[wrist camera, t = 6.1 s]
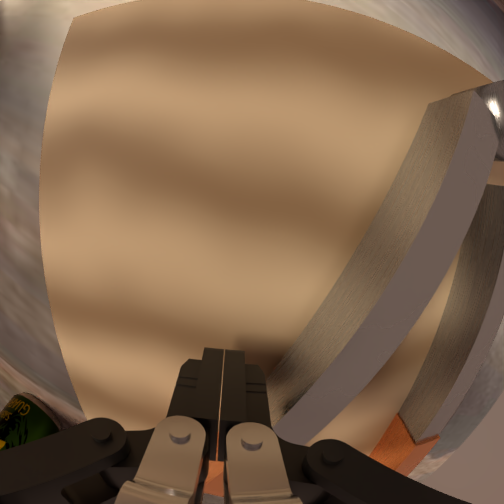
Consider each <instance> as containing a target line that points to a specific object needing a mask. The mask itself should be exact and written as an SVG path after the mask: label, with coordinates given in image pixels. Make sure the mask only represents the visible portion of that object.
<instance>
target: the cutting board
mask: <svg viewBox="0 0 504 504" xmlns="http://www.w3.org/2000/svg"><path fill="white" fill-rule="evenodd" d="M490 83H494V82H492V81H491V80H490V79H488V78H487V77H486V76H484V75H483V74H481V73H480V72H478V71H477V70H476V69H474V68H473V67H471V66H470V65H468V64H466V63H465V62H463V61H462V60H460V59H458V58H457V57H455V56H453V55H452V54H450V53H448V52H447V51H445V50H443V49H441V48H439V47H437V46H436V45H434V44H432V43H430V42H428V41H426V40H424V39H422V38H420V37H418V36H416V35H413V34H411V33H409V32H407V31H404V30H402V29H400V28H397V27H395V26H392V25H390V24H387V23H385V22H382V21H379V20H377V19H374V18H371V17H368V16H365V15H362V14H359V13H355V12H352V11H349V10H345V9H341V8H338V7H334V6H330V5H325V4H321V3H316V2H311V1H306V0H138V1H133V2H128V3H124V4H119V5H115V6H111V7H107V8H104V9H100V10H97V11H93V12H90V13H87V14H84V15H81V16H78V17H75V18H73V21H72V23H71V26H70V29H69V31H68V34H67V37H66V39H65V42H64V45H63V48H62V51H61V55H60V58H59V61H58V65H57V68H56V72H55V76H54V80H53V84H52V88H51V93H50V97H49V102H48V108H47V113H46V119H45V126H44V133H43V141H42V151H41V163H40V184H39V214H40V235H41V247H42V257H43V266H44V273H45V280H46V286H47V292H48V298H49V303H50V308H51V312H52V317H53V321H54V325H55V329H56V333H57V337H58V341H59V344H60V348H61V351H62V355H63V358H64V361H65V364H66V367H67V370H68V373H69V376H70V379H71V382H72V384H73V387H74V390H75V392H76V395H77V397H78V400H79V402H80V405H81V407H82V409H83V411H84V414H85V416H86V418H87V420H90V419H93V418H99V417H103V418H109V419H112V420H114V421H116V422H118V423H119V424H120V425H121V426H122V427H123V428H124V430H125V431H134V430H148V429H152V428H154V427H156V426H157V424H158V423H159V422H160V421H161V420H163V419H165V418H166V416H167V413H168V409H169V405H170V402H171V399H172V395H173V392H174V388H175V386H176V381H177V378H178V375H179V371H180V368H181V366H182V365H183V364H184V363H185V362H186V361H187V360H188V359H197V360H202V356H203V351H204V347H208V348H217V349H224V355H223V369H224V357H225V349H229V350H241V351H245V364H254V365H259V367H260V368H261V369H262V371H263V372H264V373H265V379H267V378H268V376H269V375H270V374H271V373H272V371H273V370H274V369H275V367H276V366H277V365H278V364H279V362H280V361H281V360H282V358H283V357H284V356H285V354H286V353H287V352H288V350H289V349H290V348H291V346H292V345H293V344H294V342H295V341H296V340H297V338H298V337H299V335H300V334H301V333H302V331H303V330H304V328H305V327H306V326H307V324H308V323H309V321H310V320H311V318H312V317H313V316H314V314H315V313H316V311H317V310H318V308H319V307H320V305H321V304H322V302H323V301H324V299H325V298H326V296H327V295H328V293H329V292H330V290H331V289H332V287H333V286H334V284H335V283H336V281H337V279H338V278H339V276H340V275H341V273H342V272H343V270H344V268H345V267H346V265H347V263H348V262H349V260H350V259H351V257H352V255H353V254H354V252H355V250H356V249H357V247H358V245H359V244H360V242H361V240H362V238H363V237H364V235H365V233H366V231H367V230H368V228H369V226H370V224H371V223H372V221H373V219H374V217H375V215H376V214H377V212H378V210H379V208H380V206H381V204H382V203H383V201H384V199H385V197H386V195H387V193H388V191H389V189H390V187H391V185H392V183H393V181H394V179H395V177H396V175H397V173H398V171H399V169H400V167H401V165H402V163H403V161H404V159H405V157H406V155H407V153H408V150H409V148H410V146H411V144H412V142H413V139H414V137H415V135H416V133H417V130H418V128H419V126H420V123H421V121H422V119H423V116H424V114H425V111H426V109H427V106H428V104H429V103H432V102H435V101H438V100H441V99H444V98H448V97H450V96H451V95H452V94H454V93H458V92H461V91H464V90H468V89H471V88H475V87H478V86H482V85H486V84H490ZM487 184H492V185H500V186H504V162H498V161H494V162H493V165H492V168H491V171H490V175H489V178H488V181H487ZM461 245H462V244H461ZM460 250H461V246H460V248H459V250H458V252H457V254H456V256H455V258H454V260H453V262H452V264H451V266H450V268H449V269H448V271H447V273H446V275H445V277H444V278H443V280H442V282H441V284H440V285H439V287H438V289H437V290H436V292H435V294H434V295H433V297H432V298H431V300H430V302H429V303H428V305H427V306H426V308H425V309H424V311H423V312H422V314H421V316H420V317H419V318H418V320H417V321H416V323H415V324H414V326H413V327H412V329H411V330H410V331H409V333H408V334H407V336H406V337H405V338H404V340H403V341H402V342H401V344H400V345H399V346H398V348H397V349H396V350H395V352H394V353H393V354H392V355H391V357H390V358H389V359H388V360H387V362H386V363H385V364H384V365H383V366H382V368H381V369H380V370H379V371H378V372H377V374H376V375H375V376H374V377H373V378H372V379H371V381H370V382H369V383H368V384H367V385H366V386H365V387H364V388H363V389H362V391H361V392H360V393H359V394H358V395H357V396H356V397H355V398H354V399H353V400H352V401H351V402H350V403H349V404H348V405H347V406H346V407H345V408H344V409H343V410H342V411H341V412H340V413H339V414H338V415H337V416H336V417H335V418H334V419H333V420H332V421H331V422H330V423H329V424H328V425H327V426H326V427H325V428H324V429H322V430H321V431H320V432H319V433H318V434H317V435H316V436H315V437H313V438H312V439H311V440H310V441H309V442H308V443H306V444H305V445H304V446H308V447H310V446H311V445H313V444H314V443H315V442H317V441H320V440H323V439H336V440H340V441H343V442H345V443H347V444H348V445H350V446H352V447H353V448H355V449H357V450H358V451H360V452H362V453H363V454H365V455H367V456H369V455H370V454H371V452H372V451H373V449H374V448H375V446H376V445H377V444H378V442H379V441H380V439H381V437H382V436H383V434H384V433H385V431H386V430H387V428H388V427H389V425H390V423H391V422H392V420H393V418H394V417H395V415H396V413H398V412H399V410H400V408H401V406H402V405H403V403H404V401H405V399H406V397H407V396H408V394H409V392H410V390H411V388H412V386H413V384H414V382H415V380H416V378H417V376H418V374H419V372H420V369H421V367H422V365H423V363H424V361H425V358H426V356H427V354H428V352H429V349H430V347H431V344H432V342H433V339H434V337H435V334H436V332H437V329H438V326H439V323H440V321H441V318H442V315H443V312H444V309H445V306H446V303H447V300H448V296H449V293H450V290H451V286H452V283H453V279H454V275H455V271H456V267H457V263H458V259H459V254H460ZM222 381H223V370H222ZM221 394H222V385H221ZM220 407H221V398H220ZM219 421H220V411H219ZM218 431H219V424H218Z"/></svg>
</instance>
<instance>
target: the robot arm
mask: <svg viewBox="0 0 504 504" xmlns="http://www.w3.org/2000/svg"><path fill="white" fill-rule="evenodd" d="M223 355H224V349H217V348H208V347H204V351H203V356H202V360H197V359H188V360H187V361H186V362H185V363H184V364H183V365H182V366H181V368H180V371H179V375H178V378H177V381H176V386H175V388H174V392H173V395H172V399H171V402H170V405H169V409H168V413H167V416H166V418H165V419H163V420H161V421H160V422H159V423H158V424H157V426H156V427H154V428H152V429H148V430H134V431H125V430H124V428H123V427H122V426H121V425H120V424H119V423H118V422H116V421H114V420H112V419H109V418H103V417H99V418H93V419H90V420H88V421H85V422H83V423H80V424H78V425H75V426H73V427H70V428H68V429H65V430H63V431H60V432H57V433H55V434H52V435H49V436H46V437H43V438H41V439H38V440H35V441H32V442H29V443H26V444H23V445H19V446H16V447H13V448H9V449H6V450H2V451H0V504H202V500H203V495H204V490H205V484H206V478H207V476H208V471H209V461H216V452H217V437H218V424H219V440H218V461H221V462H224V467H223V493H224V504H471V503H468V502H466V501H462V500H460V499H457V498H455V497H452V496H449V495H447V494H444V493H442V492H439V491H437V490H435V489H432V488H430V487H428V486H425V485H423V484H421V483H419V482H417V481H415V480H412V479H410V478H408V477H406V476H404V475H402V474H400V473H398V472H396V471H394V470H392V469H391V468H389V467H387V466H385V465H383V464H381V463H379V462H378V461H376V460H374V459H372V458H370V457H369V456H367V455H365V454H363V453H362V452H360V451H358V450H357V449H355V448H353V447H352V446H350V445H348V444H347V443H345V442H343V441H340V440H336V439H323V440H320V441H317V442H315V443H314V444H313V445H311V446H310V447H308V446H303V445H298V444H293V443H290V442H287V441H285V440H283V439H281V438H280V437H279V436H278V435H277V434H276V433H275V432H274V430H273V428H272V426H271V419H270V411H269V403H268V395H267V387H266V379H265V373H264V372H263V371H262V369H261V368H260V367H259V365H254V364H245V351H241V350H229V349H225V357H224V369H223ZM222 370H223V381H222ZM221 385H222V394H221ZM220 398H221V407H220ZM219 411H220V421H219Z"/></svg>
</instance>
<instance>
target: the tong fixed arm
mask: <svg viewBox="0 0 504 504" xmlns="http://www.w3.org/2000/svg"><path fill="white" fill-rule="evenodd" d="M503 316H504V186H500V185H492V184H486V187H485V189H484V192H483V195H482V198H481V200H480V203H479V205H478V208H477V210H476V213H475V215H474V218H473V220H472V222H471V225H470V227H469V229H468V231H467V234H466V236H465V238H464V240H463V242H462V245H461V250H460V254H459V259H458V263H457V267H456V271H455V275H454V279H453V283H452V286H451V290H450V293H449V296H448V300H447V303H446V306H445V309H444V312H443V315H442V318H441V321H440V323H439V326H438V329H437V332H436V334H435V337H434V339H433V342H432V344H431V347H430V349H429V352H428V354H427V356H426V358H425V361H424V363H423V365H422V367H421V369H420V372H419V374H418V376H417V378H416V380H415V382H414V384H413V386H412V388H411V390H410V392H409V394H408V396H407V397H406V399H405V401H404V403H403V405H402V406H401V408H400V410H399V412H398V413H396V415H395V417H394V418H393V420H392V422H391V423H390V425H389V427H388V428H387V430H386V431H385V433H384V434H383V436H382V437H381V439H380V441H379V442H378V444H377V445H376V446H375V448H374V449H373V451H372V452H371V454H370V455H369V457H370V458H372V459H374V460H376V461H378V462H379V463H381V464H383V465H385V466H387V467H389V468H391V469H392V470H394V471H396V472H398V473H400V474H402V475H404V476H406V477H407V476H408V475H409V474H410V472H411V471H412V470H413V469H414V468H415V467H416V466H417V465H418V464H419V463H420V462H421V460H422V459H423V458H424V457H425V456H426V455H427V454H428V452H429V451H430V450H431V449H432V447H433V446H434V445H435V444H436V443H437V441H438V440H439V439H440V437H439V434H440V432H441V431H442V430H443V428H444V427H445V426H446V424H447V423H448V421H449V420H450V418H451V417H452V415H453V414H454V412H455V411H456V409H457V408H458V406H459V405H460V403H461V402H462V400H463V398H464V397H465V395H466V393H467V392H468V390H469V388H470V387H471V385H472V383H473V381H474V379H475V378H476V376H477V374H478V372H479V370H480V368H481V366H482V364H483V362H484V360H485V358H486V356H487V354H488V352H489V350H490V348H491V345H492V343H493V341H494V338H495V336H496V334H497V331H498V329H499V326H500V324H501V321H502V318H503Z"/></svg>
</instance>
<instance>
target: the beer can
mask: <svg viewBox="0 0 504 504" xmlns="http://www.w3.org/2000/svg"><path fill="white" fill-rule="evenodd" d="M60 431H61V424H60V422H59V420H58V419H57V418H56V416H55V415H54V414H53V413H52V411H51V410H50V409H49V408H48V407H47V406H46V405H44V404H43V403H42V402H41V401H40V400H38V399H37V398H36V397H34V396H32V395H30V394H29V393H25V392H23V393H20V394H17V395H14V396H13V398H12V399H11V400H10V401H9V403H8V404H7V405H6V406H5V407H4V409H3V410H2V411H1V412H0V451H2V450H6V449H9V448H13V447H16V446H19V445H23V444H26V443H29V442H32V441H35V440H38V439H41V438H43V437H46V436H49V435H52V434H55V433H57V432H60Z"/></svg>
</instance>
